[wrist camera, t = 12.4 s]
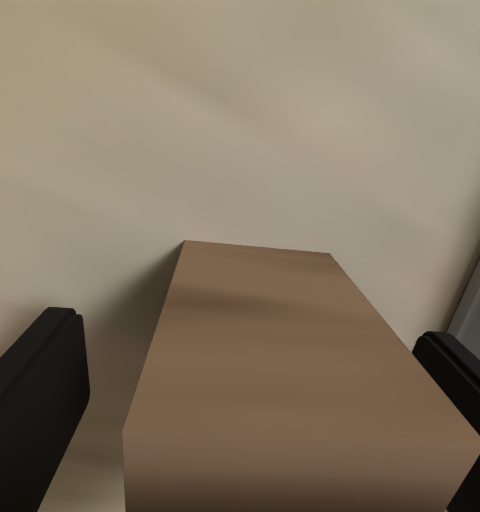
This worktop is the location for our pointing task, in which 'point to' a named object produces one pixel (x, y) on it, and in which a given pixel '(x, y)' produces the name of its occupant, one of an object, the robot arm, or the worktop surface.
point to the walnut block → (285, 396)
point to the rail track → (468, 317)
